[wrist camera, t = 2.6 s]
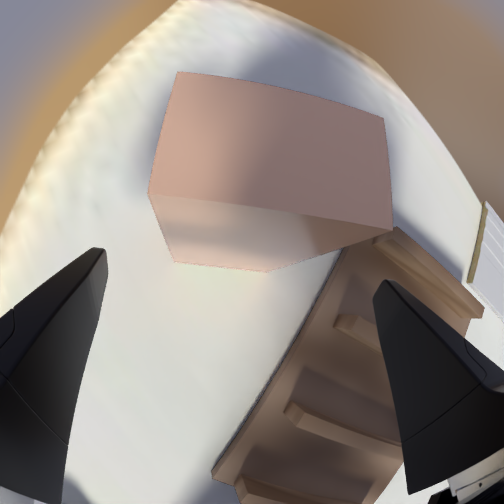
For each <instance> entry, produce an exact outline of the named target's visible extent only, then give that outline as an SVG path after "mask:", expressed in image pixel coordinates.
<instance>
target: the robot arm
mask: <svg viewBox="0 0 504 504" xmlns="http://www.w3.org/2000/svg"><path fill="white" fill-rule="evenodd" d="M107 279H108V264H107V254H106V250H105V249H103V248H96V247H93V248H91V249H89V250H88V251H86V252H85V253H84V254H82V255H81V256H79V257H78V258H76V259H75V260H74V261H72V262H71V263H70V264H68V265H67V266H65V267H64V268H63V269H61V270H60V271H59V272H57V273H56V274H55V275H53V276H52V277H51V278H49V279H48V280H47V281H46V282H44V283H43V284H42V285H40V286H39V287H38V288H37V289H35V290H34V291H33V292H31V293H30V294H29V295H28V296H26V297H25V298H24V299H23V300H22V301H20V302H19V303H18V304H17V305H15V306H14V307H13V309H10V310H9V311H8V312H7V313H6V314H5V315H3V316H2V317H1V318H0V504H34V501H35V500H37V501H40V502H43V503H46V504H61V501H62V490H63V480H64V472H65V464H66V457H67V451H68V446H67V445H68V444H69V438H70V432H71V427H72V422H73V417H74V412H75V407H76V403H77V398H78V394H79V390H80V385H81V381H82V377H83V373H84V369H85V366H86V362H87V358H88V355H89V351H90V348H91V344H92V341H93V337H94V334H95V331H96V328H97V324H98V321H99V316H100V311H101V306H102V301H103V297H104V292H105V288H106V283H107ZM372 304H373V309H374V314H375V320H376V326H377V332H378V338H379V342H380V346H381V350H382V354H383V358H384V362H385V366H386V371H387V375H388V379H389V384H390V388H391V393H392V397H393V402H394V407H395V412H396V417H397V423H398V428H399V434H400V440H401V443H402V444H401V447H402V453H403V460H404V467H405V474H406V482H407V491H408V495H411V494H413V493H416V492H418V491H421V490H423V489H426V488H428V487H431V486H433V485H435V484H437V483H440V482H442V481H444V480H446V479H447V480H448V483H449V487H447V488H446V489H444V490H442V491H440V492H438V493H436V494H433V495H431V497H430V500H429V502H428V504H504V371H503V370H502V369H501V368H500V367H498V366H497V365H496V364H495V363H494V362H492V361H491V360H490V359H489V358H487V357H486V356H485V355H484V354H483V353H481V352H480V351H479V350H478V349H477V348H475V347H474V346H473V345H472V344H471V343H470V342H469V341H467V340H466V339H465V338H463V336H462V335H460V334H459V333H458V332H457V331H456V330H455V329H454V328H452V327H451V326H450V325H449V324H448V323H446V322H445V321H444V320H443V319H442V318H441V317H439V316H438V315H437V314H436V313H435V312H433V311H432V310H431V309H430V308H429V307H427V306H426V305H425V304H424V303H422V302H421V301H420V300H419V299H418V298H416V297H415V296H414V295H413V294H411V293H410V292H409V291H408V290H406V289H405V288H404V287H403V286H401V285H400V284H399V283H397V282H396V281H395V280H390V279H384V280H383V281H382V282H381V283H380V285H379V287H378V289H377V290H376V292H375V294H374V295H373V299H372Z"/></svg>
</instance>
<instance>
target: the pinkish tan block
mask: <svg viewBox="0 0 504 504" xmlns="http://www.w3.org/2000/svg"><path fill="white" fill-rule="evenodd" d="M147 194H148V197H149V200H150V202H151V205H152V208H153V210H154V213H155V216H156V218H157V221H158V223H159V226H160V229H161V231H162V234H163V236H164V239H165V241H166V244H167V246H168V249H169V251H170V254H171V256H172V258H173V261H174V262H177V263H185V264H194V265H203V266H212V267H221V268H230V269H240V270H249V271H259V272H270V271H273V270H276V269H279V268H282V267H285V266H289V265H292V264H295V263H298V262H301V261H304V260H307V259H310V258H313V257H316V256H319V255H322V254H325V253H328V252H331V251H334V250H337V249H340V248H343V247H346V246H349V245H352V244H355V243H358V242H361V241H364V240H367V239H370V238H373V237H375V236H378V235H381V234H384V233H387V232H390V231H393V214H392V194H391V180H390V168H389V158H388V149H387V140H386V132H385V125H384V118H382V117H379V116H376V115H374V114H371V113H368V112H365V111H362V110H359V109H356V108H353V107H350V106H347V105H344V104H341V103H337V102H334V101H331V100H327V99H324V98H320V97H317V96H313V95H309V94H305V93H301V92H297V91H293V90H289V89H285V88H280V87H276V86H271V85H266V84H261V83H256V82H251V81H245V80H240V79H234V78H227V77H220V76H213V75H206V74H197V73H188V72H177V75H176V78H175V82H174V85H173V88H172V92H171V95H170V99H169V102H168V106H167V109H166V113H165V117H164V121H163V125H162V129H161V133H160V137H159V141H158V145H157V149H156V154H155V158H154V163H153V168H152V172H151V177H150V182H149V187H148V193H147Z"/></svg>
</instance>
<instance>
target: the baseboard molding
mask: <svg viewBox="0 0 504 504" xmlns="http://www.w3.org/2000/svg"><path fill="white" fill-rule="evenodd" d="M481 205H482V207H483V211H482V217H481V222H480V228H479V233H478V238H477V243H476V247H475V252H474V256H473V260H472V264H471V268H470V272H469V275H468V279H467V284H468V285H469V286H470V287H471V288H472V289H473V290H474V291H475V292H476V293H477V294H478V295H479V296H480V297H481V298H482V299H483V301H484V302H485V303H486V304H487V305H488V306H489V307H490V308H491V309H492V310H493V312H494V313H495V314H496V315H497V316H498V317H499V318H500V320H501V321H502V322H503V323H504V223H503V222H502V221H501V219H500V218H499V217H498V215H497V214H496V213H495V211H494V210H493V209H492V208H491V206H490V205H489V204H488V203H487V201H484V202H481Z"/></svg>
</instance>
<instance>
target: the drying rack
mask: <svg viewBox="0 0 504 504" xmlns="http://www.w3.org/2000/svg"><path fill="white" fill-rule="evenodd" d="M384 279H390V280H395V281H396V282H397V283H399V284H400V285H401V286H403V287H404V288H405V289H406V290H408V291H409V292H410V293H411V294H413V295H414V296H415V297H416V298H418V299H419V300H420V301H421V302H422V303H424V304H425V305H426V306H427V307H429V308H430V309H431V310H432V311H433V312H435V313H436V314H437V315H438V316H439V317H441V318H442V319H443V320H444V321H445V322H446V323H448V324H449V325H450V326H451V327H452V328H454V329H455V330H456V331H457V332H458V333H459V334H460V335H462V336H463V338H465V335H466V332H467V329H468V326H469V323H470V320H471V318H482V315H483V312H484V307H483V305H482V304H481V303H480V302H479V301H478V300H477V299H476V298H475V297H474V296H473V295H472V294H471V293H470V292H469V291H468V290H467V289H466V288H465V287H464V286H463V285H462V284H461V283H460V282H459V281H458V280H457V279H456V278H455V277H453V276H452V275H451V274H450V273H449V272H448V271H447V270H446V269H445V268H444V267H443V266H442V265H441V264H440V263H439V262H437V261H436V260H435V259H434V258H433V257H432V256H431V255H430V254H429V253H427V252H426V251H425V250H424V249H423V248H422V247H421V246H420V245H418V244H417V243H416V242H415V241H414V240H413V239H411V238H410V237H409V236H408V235H407V234H406V233H404V232H403V231H402V230H401V229H400V228H398V227H397V226H396V227H394V228H393V231H390V232H387V233H384V234H381V235H378V236H375V237H373V238H370V239H367V240H364V241H361V242H358V243H355V244H352V245H349V246H346V247H344V248H343V250H342V252H341V254H340V256H339V258H338V261H337V263H336V265H335V267H334V269H333V271H332V273H331V275H330V276H329V278H328V280H327V282H326V284H325V286H324V288H323V290H322V292H321V294H320V296H319V298H318V300H317V302H316V303H315V305H314V307H313V309H312V311H311V313H310V315H309V316H308V318H307V320H306V322H305V324H304V326H303V327H302V329H301V331H300V333H299V335H298V336H297V338H296V340H295V342H294V343H293V345H292V347H291V349H290V350H289V352H288V354H287V355H286V357H285V359H284V361H283V362H282V364H281V366H280V367H279V369H278V371H277V372H276V374H275V376H274V377H273V379H272V381H271V382H270V384H269V386H268V387H267V389H266V390H265V392H264V394H263V395H262V397H261V398H260V400H259V402H258V403H257V405H256V406H255V408H254V410H253V411H252V413H251V414H250V416H249V417H248V419H247V420H246V422H245V423H244V425H243V426H242V428H241V429H240V431H239V432H238V434H237V435H236V437H235V438H234V440H233V441H232V443H231V444H230V446H229V447H228V449H227V450H226V451H225V453H224V454H223V456H222V457H221V459H220V460H219V461H218V463H217V464H216V466H215V467H214V468H213V470H212V471H211V473H212V479H215V480H217V481H220V482H223V483H226V484H228V485H231V486H234V487H235V490H236V493H237V496H238V499H239V502H240V503H241V504H374V502H375V501H376V500H377V499H378V497H379V496H380V495H381V493H382V492H383V491H384V489H385V488H386V487H387V485H388V484H389V482H390V481H391V480H392V478H393V477H394V475H395V474H396V472H397V471H398V469H399V468H400V466H401V465H402V463H403V462H404V460H403V453H402V447H401V444H402V443H401V440H400V434H399V428H398V423H397V417H396V412H395V407H394V402H393V397H392V393H391V388H390V384H389V379H388V375H387V371H386V366H385V362H384V358H383V354H382V350H381V346H380V342H379V338H378V332H377V326H376V320H375V314H374V309H373V304H372V299H373V295H374V294H375V292H376V290H377V289H378V287H379V285H380V283H381V282H382V281H383V280H384Z"/></svg>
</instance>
